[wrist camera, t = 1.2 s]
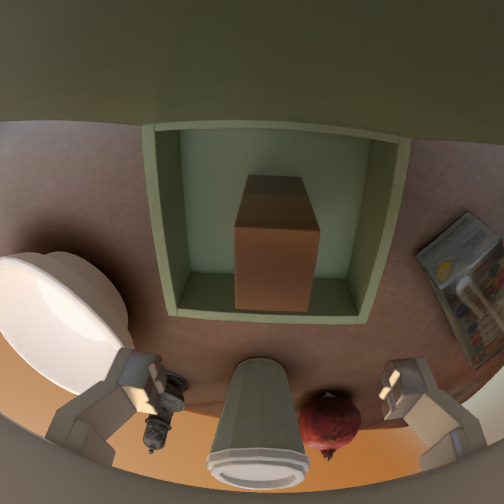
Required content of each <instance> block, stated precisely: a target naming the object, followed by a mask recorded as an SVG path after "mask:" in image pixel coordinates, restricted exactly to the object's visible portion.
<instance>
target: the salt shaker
mask: <svg viewBox="0 0 504 504" xmlns="http://www.w3.org/2000/svg"><path fill="white" fill-rule="evenodd" d="M166 373H167V381H166V386H165V390H164V391H163V392H162V393H161V394H159V396H160V398H161V404H160V407H159V411H158V414H157V415H155V414H149V417H148V418H147V419H145V422H146V423H147V426H146V430H145V433H144V436H143V442H144V444H145V445H146V446H147V447H148V448H149V449H150V450H149V453H150V454H152V453H153V450H159V449H162V448H163V447H164V445H165V441H166V437H167V433H168V431H169V430H171V426H170V423H171V419H172V416H173V414H174V412H179V411H182V410H184V409H185V403H184V397H183V394H182V392H183V391H185V390H186V389H187V387H188V384H187V382H186V381H185V380H184V379H183V378H181V377H180V376H178V375H176V374H173V373H170V372H166Z"/></svg>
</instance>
